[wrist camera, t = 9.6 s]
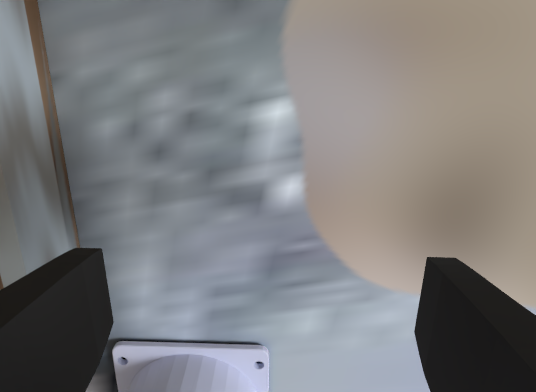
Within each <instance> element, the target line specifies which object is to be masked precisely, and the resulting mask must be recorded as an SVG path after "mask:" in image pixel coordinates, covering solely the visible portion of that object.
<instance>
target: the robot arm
mask: <svg viewBox="0 0 536 392" xmlns="http://www.w3.org/2000/svg"><path fill="white" fill-rule="evenodd" d="M112 325H113V316H112V309H111V303H110V297H109V291H108V284H107V278H106V272H105V266H104V259H103V253H102V249H99V248H74V249H72V250H69V251H67V252H65V253H63V254H62V255H60V256H58V257H56V258H54V259H53V260H51V261H49V262H47V263H46V264H44V265H42V266H41V267H39V268H37V269H35V270H34V271H32V272H30V273H29V274H27V275H25V276H24V277H22V278H20V279H18V280H17V281H15V282H13V283H12V284H10V285H8V286H7V287H5V288H3V289H1V290H0V392H85V391H86V389H87V387H88V385H89V383H90V381H91V379H92V377H93V375H94V373H95V371H96V369H97V367H98V365H99V363H100V360H101V357H102V355H103V352H104V349H105V346H106V344H107V341H108V338H109V335H110V331H111V328H112ZM414 332H415V337H416V341H417V346H418V350H419V355H420V359H421V363H422V367H423V371H424V375H425V378H426V380H427V383H428V386H429V389H430V391H431V392H536V315H534V314H533V313H531V312H530V311H529V310H527V309H526V308H524V307H523V306H522V305H520V304H519V303H517V302H516V301H515V300H513V299H512V298H511V297H509V296H508V295H507V294H505V293H504V292H502V291H501V290H500V289H498V288H497V287H496V286H494V285H493V284H492V283H490V282H489V281H488V280H486V279H485V278H483V277H482V276H481V275H479V274H478V273H477V272H475V271H474V270H473V269H471V268H470V267H468V266H467V265H466V264H464V263H463V262H461V261H459V260H458V259H456V258H441V257H427V260H426V266H425V272H424V279H423V284H422V290H421V296H420V302H419V308H418V313H417V319H416V325H415V331H414ZM112 355H113V361H114V368H115V374H116V380H117V387H118V392H269V350H268V349H267V348H266V347H264V346H262V345H240V344H206V343H172V342H138V341H119V342H117V343H116V344H115V345H114V347H113V349H112ZM121 357H124V358H126V359H127V360H125V359H122V358H121ZM258 361H260V362H262V363H261V364H258V363H256V362H258Z"/></svg>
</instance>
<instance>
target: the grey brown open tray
mask: <svg viewBox="0 0 536 392" xmlns="http://www.w3.org/2000/svg"><path fill="white" fill-rule="evenodd" d="M74 248H80V245H79V239H78V234H77V228H76V222H75V216H74V210H73V205H72V199H71V193H70V187H69V181H68V176H67V170H66V164H65V158H64V153H63V147H62V141H61V135H60V129H59V124H58V118H57V112H56V106H55V100H54V95H53V89H52V83H51V77H50V71H49V66H48V60H47V54H46V48H45V42H44V37H43V31H42V25H41V19H40V14H39V8H38V2H37V0H0V290H1V289H3V288H5V287H7V286H8V285H10V284H12V283H13V282H15V281H17V280H18V279H20V278H22V277H24V276H25V275H27V274H29V273H30V272H32V271H34V270H35V269H37V268H39V267H41V266H42V265H44V264H46V263H47V262H49V261H51V260H53V259H54V258H56V257H58V256H60V255H62V254H63V253H65V252H67V251H69V250H72V249H74Z"/></svg>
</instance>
